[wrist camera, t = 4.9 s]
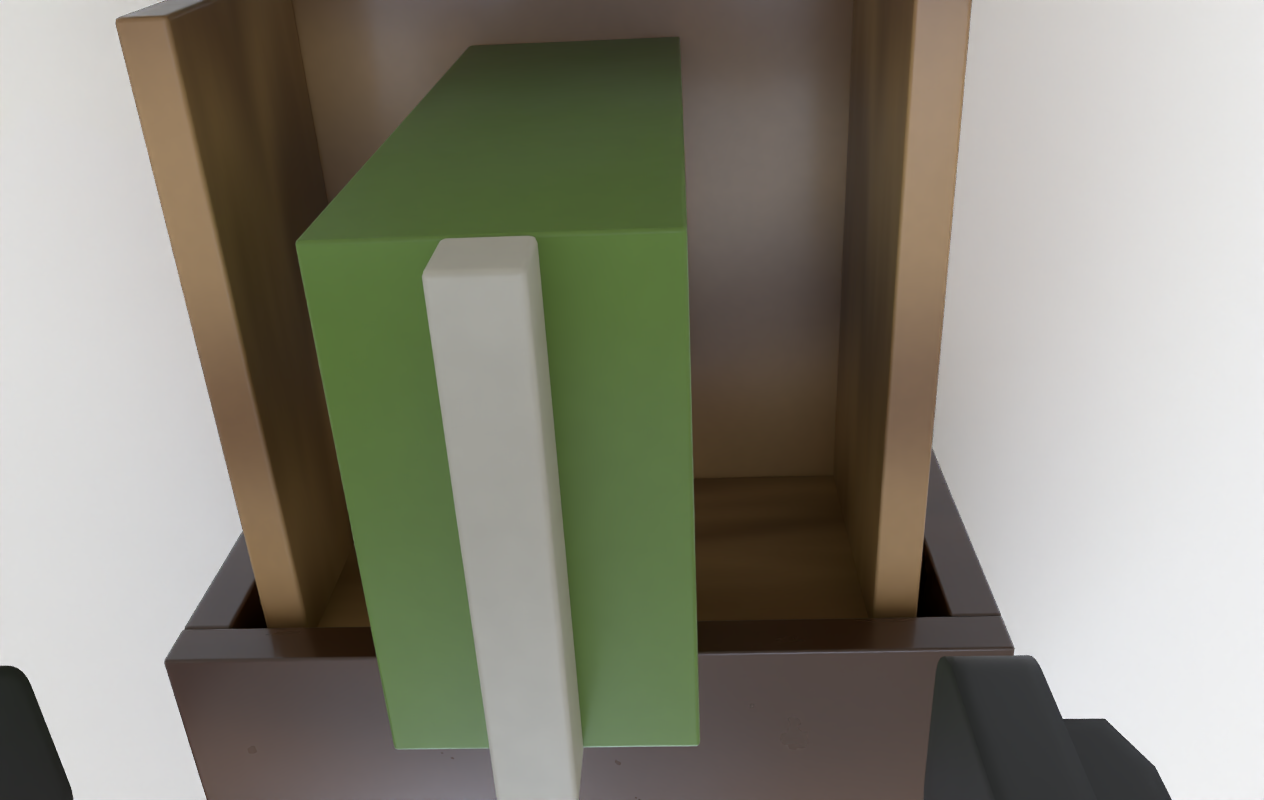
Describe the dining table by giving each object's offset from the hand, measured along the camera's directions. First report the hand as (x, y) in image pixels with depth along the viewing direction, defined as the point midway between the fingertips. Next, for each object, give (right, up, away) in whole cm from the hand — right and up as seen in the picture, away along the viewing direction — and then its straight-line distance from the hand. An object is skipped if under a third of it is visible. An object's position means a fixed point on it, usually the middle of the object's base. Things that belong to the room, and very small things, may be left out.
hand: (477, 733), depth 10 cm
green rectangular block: (0, +7, +13) cm, 14 cm away
